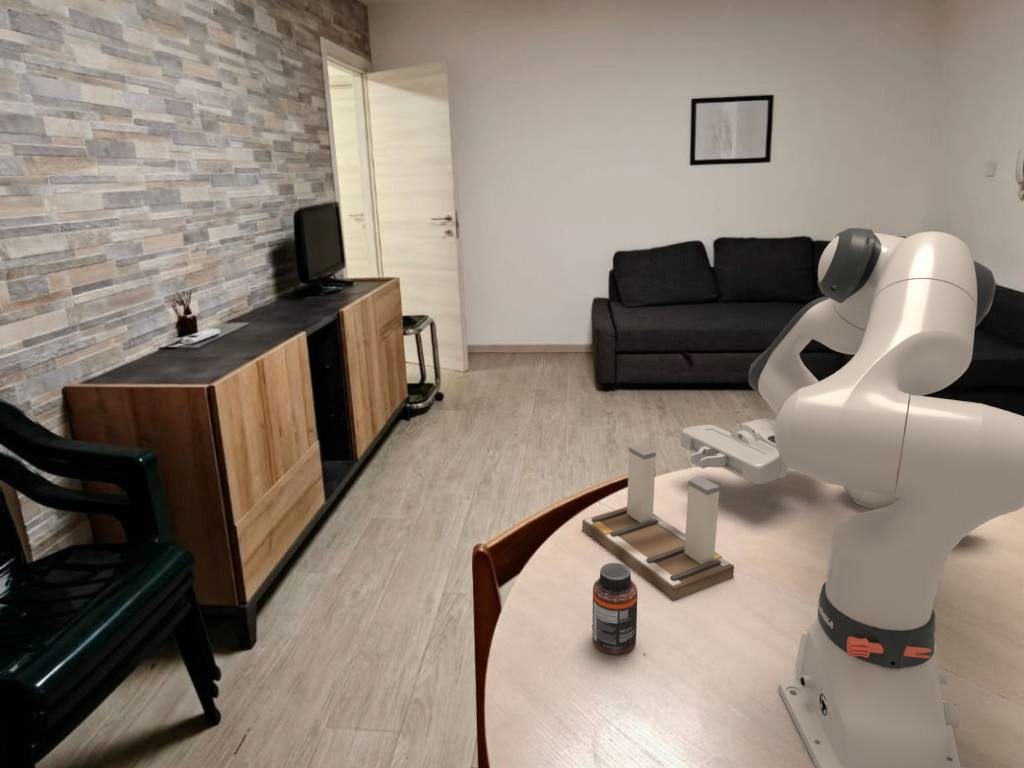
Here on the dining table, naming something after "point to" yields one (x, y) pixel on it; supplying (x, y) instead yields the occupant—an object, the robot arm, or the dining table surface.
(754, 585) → the dining table surface
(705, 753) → the dining table surface
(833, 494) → the dining table surface
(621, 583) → the supplement bottle
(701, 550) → the tab
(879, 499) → the lidded bowl
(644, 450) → the tab
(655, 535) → the slotted wooden base
